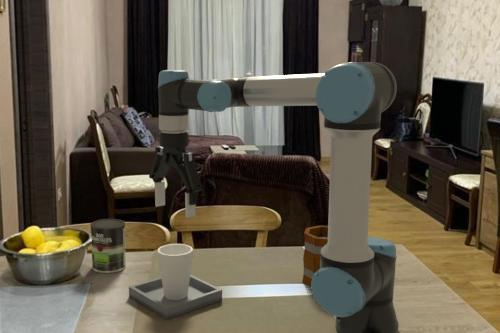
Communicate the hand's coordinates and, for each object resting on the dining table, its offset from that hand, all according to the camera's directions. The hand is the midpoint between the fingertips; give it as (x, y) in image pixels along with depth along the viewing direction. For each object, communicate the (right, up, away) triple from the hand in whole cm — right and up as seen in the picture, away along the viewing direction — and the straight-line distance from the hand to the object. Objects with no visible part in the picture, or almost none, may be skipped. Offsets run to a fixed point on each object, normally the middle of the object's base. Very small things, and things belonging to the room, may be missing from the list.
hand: (174, 211), depth 157 cm
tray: (0, -24, +5) cm, 25 cm away
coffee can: (-24, -19, +27) cm, 41 cm away
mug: (+45, -22, +19) cm, 53 cm away
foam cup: (0, -23, +5) cm, 24 cm away
